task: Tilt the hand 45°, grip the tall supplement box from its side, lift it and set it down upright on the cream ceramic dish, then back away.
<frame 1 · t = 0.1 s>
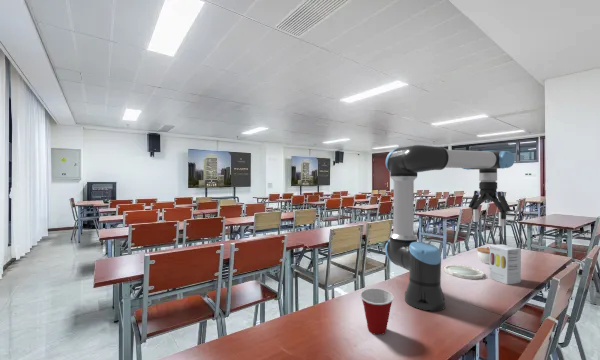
hand: (488, 223, 138), 28 cm above the table, tool pointing down, fingers open, 13 cm apart
dish: (463, 273, 147), on the table
plastic cup: (376, 330, 91), on the table
supplement box: (504, 280, 137), on the table
lidded jar: (487, 262, 166), on the table
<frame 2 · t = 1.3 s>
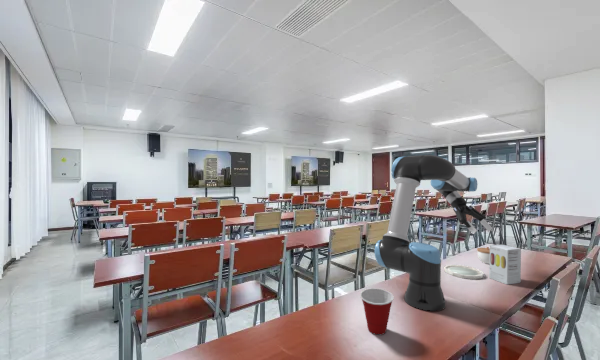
hand: (483, 231, 146), 23 cm above the table, tool tilted 45°, fingers open, 13 cm apart
nothing on the table moved.
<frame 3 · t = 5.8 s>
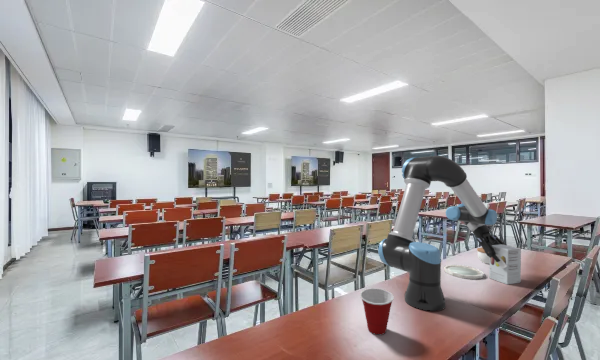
hand: (511, 266, 134), 8 cm above the table, tool tilted 45°, fingers closed on supplement box, 10 cm apart
supplement box: (504, 280, 137), on the table, touching gripper
everything else where it was.
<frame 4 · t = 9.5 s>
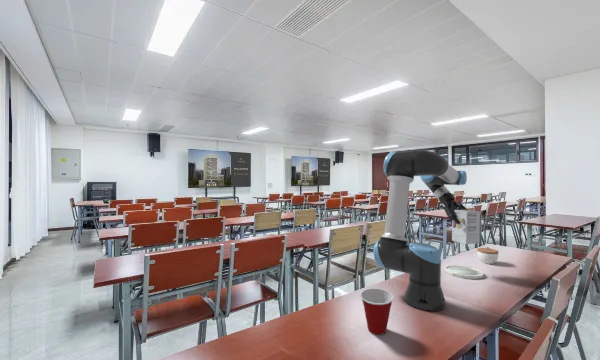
hand: (471, 227, 144), 25 cm above the table, tool tilted 45°, fingers closed on supplement box, 10 cm apart
supplement box: (465, 242, 147), point 17 cm above the table, touching gripper
everything else where it was.
when the fingers open (10 cm above the table, at t = 13.3 s): supplement box drops 1 cm, resting on dish.
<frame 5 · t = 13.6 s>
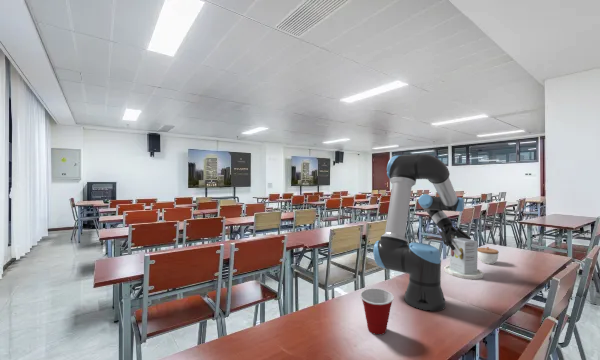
hand: (467, 253, 145), 11 cm above the table, tool tilted 45°, fingers open, 13 cm apart
supplement box: (463, 271, 147), point 1 cm above the table, touching dish
everything else where it was.
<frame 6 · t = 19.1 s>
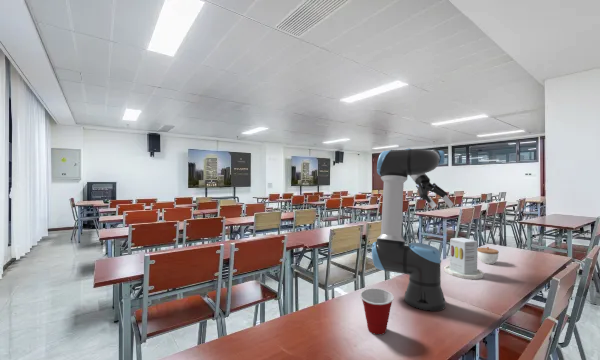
hand: (443, 206, 148), 36 cm above the table, tool tilted 45°, fingers open, 13 cm apart
nothing on the table moved.
at the end: supplement box inside the target area on the dish (0.2 cm from its centre), point 1.0 cm above the dish's base; supplement box tilted 0°; the gripper is holding nothing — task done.
